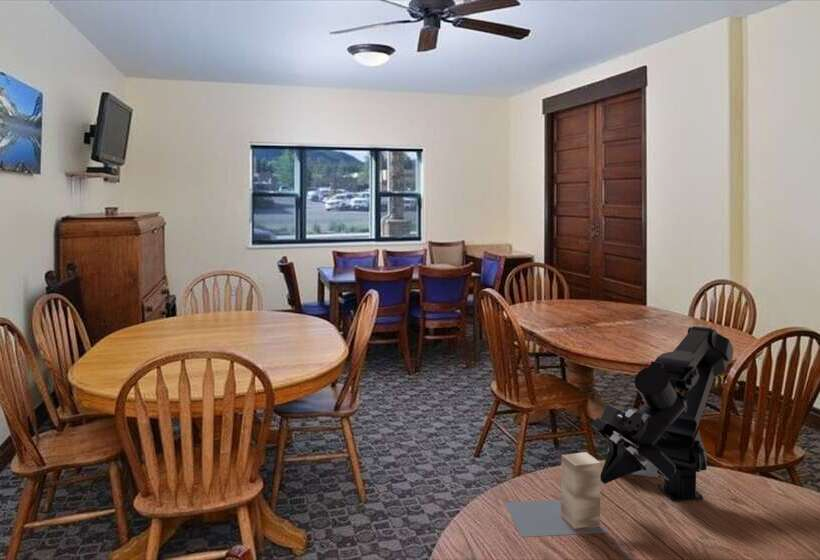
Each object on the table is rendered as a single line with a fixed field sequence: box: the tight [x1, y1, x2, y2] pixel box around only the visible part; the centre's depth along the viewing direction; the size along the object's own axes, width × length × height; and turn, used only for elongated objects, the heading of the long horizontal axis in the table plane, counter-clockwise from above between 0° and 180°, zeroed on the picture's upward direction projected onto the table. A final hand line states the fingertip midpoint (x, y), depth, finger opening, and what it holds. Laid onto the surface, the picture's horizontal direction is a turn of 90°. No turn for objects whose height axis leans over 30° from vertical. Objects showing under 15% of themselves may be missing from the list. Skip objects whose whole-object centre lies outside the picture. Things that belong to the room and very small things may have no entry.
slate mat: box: [504, 499, 608, 538], centre depth 112 cm, size 13×16×1 cm
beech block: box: [560, 451, 602, 531], centre depth 109 cm, size 5×5×12 cm
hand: (601, 481), depth 109 cm, fingers closed
